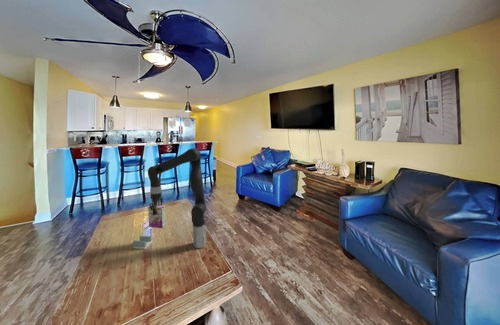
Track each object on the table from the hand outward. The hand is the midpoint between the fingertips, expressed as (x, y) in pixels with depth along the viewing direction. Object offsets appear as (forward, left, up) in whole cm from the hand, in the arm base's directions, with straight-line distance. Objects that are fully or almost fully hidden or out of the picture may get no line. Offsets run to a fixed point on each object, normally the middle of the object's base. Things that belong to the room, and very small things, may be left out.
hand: (156, 213), depth 145 cm
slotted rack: (+10, +4, -25) cm, 27 cm away
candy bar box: (0, 0, -11) cm, 11 cm away
